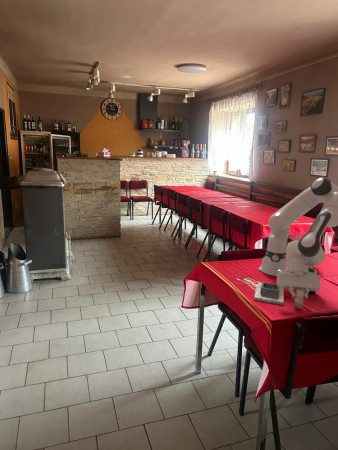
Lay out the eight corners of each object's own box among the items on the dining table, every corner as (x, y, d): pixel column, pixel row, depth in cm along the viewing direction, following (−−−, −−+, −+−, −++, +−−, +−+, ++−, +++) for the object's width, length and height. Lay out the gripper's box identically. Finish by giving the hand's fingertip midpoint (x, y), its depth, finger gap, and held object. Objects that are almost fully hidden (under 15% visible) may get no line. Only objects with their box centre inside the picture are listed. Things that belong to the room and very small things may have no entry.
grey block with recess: (257, 286, 187) (258, 277, 186) (283, 290, 183) (284, 282, 182) (254, 299, 168) (255, 290, 167) (283, 305, 164) (284, 295, 163)
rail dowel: (293, 303, 163) (296, 287, 161) (302, 305, 162) (304, 289, 160) (293, 307, 159) (296, 290, 158) (302, 308, 158) (305, 292, 157)
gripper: (277, 266, 165) (279, 292, 157) (319, 270, 163) (323, 297, 156) (274, 271, 170) (276, 297, 162) (315, 275, 169) (319, 302, 161)
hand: (299, 297), depth 159 cm, fingers closed on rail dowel, 4 cm apart
